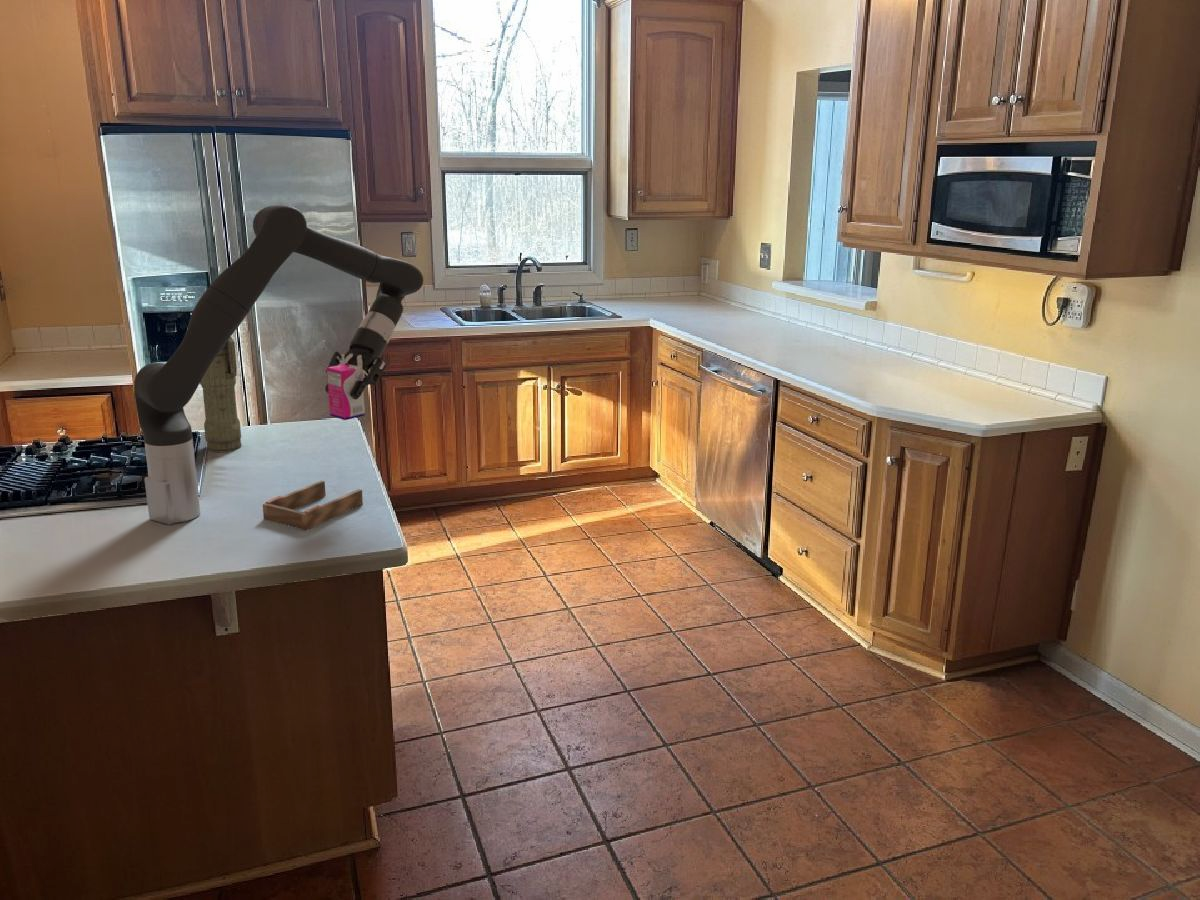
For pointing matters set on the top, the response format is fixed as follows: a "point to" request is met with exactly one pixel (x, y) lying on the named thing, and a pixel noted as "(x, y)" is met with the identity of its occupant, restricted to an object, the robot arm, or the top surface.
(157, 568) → the top surface
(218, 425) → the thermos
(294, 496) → the channel
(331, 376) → the supplement box
